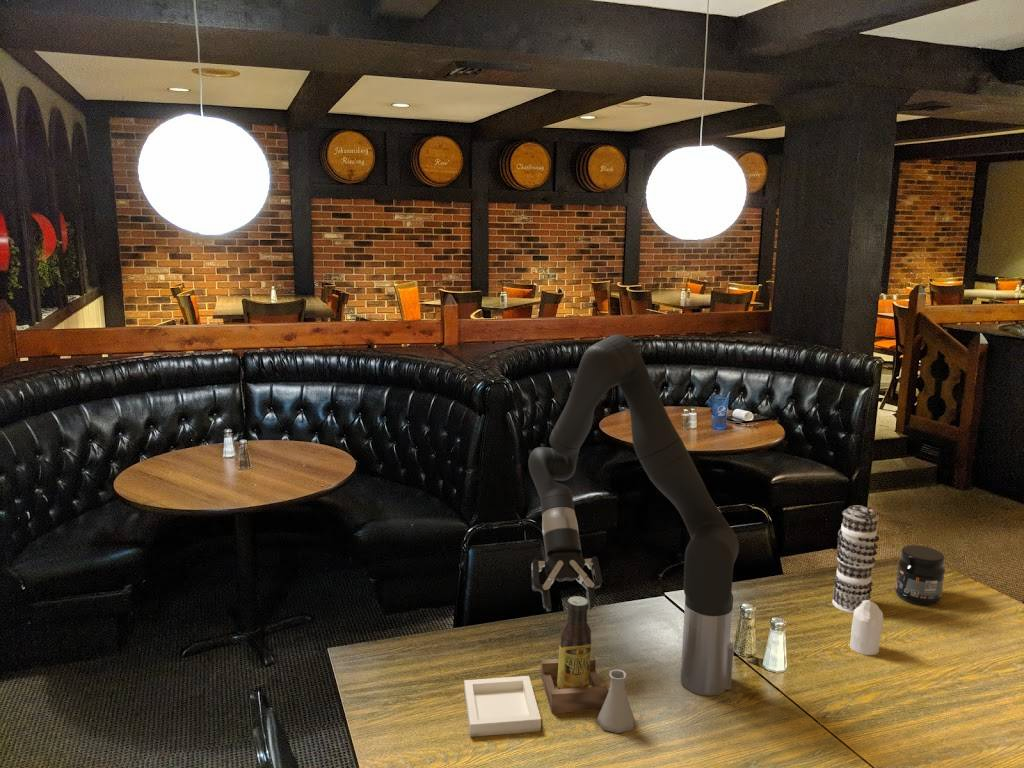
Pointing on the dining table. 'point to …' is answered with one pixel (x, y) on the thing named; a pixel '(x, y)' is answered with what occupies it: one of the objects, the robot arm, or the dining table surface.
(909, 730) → the dining table surface
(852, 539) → the decorative candle
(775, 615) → the dining table surface
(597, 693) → the holder
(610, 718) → the flask
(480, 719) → the tray
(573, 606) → the sauce bottle
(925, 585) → the supplement container
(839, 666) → the dining table surface
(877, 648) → the white pointed cylinder
